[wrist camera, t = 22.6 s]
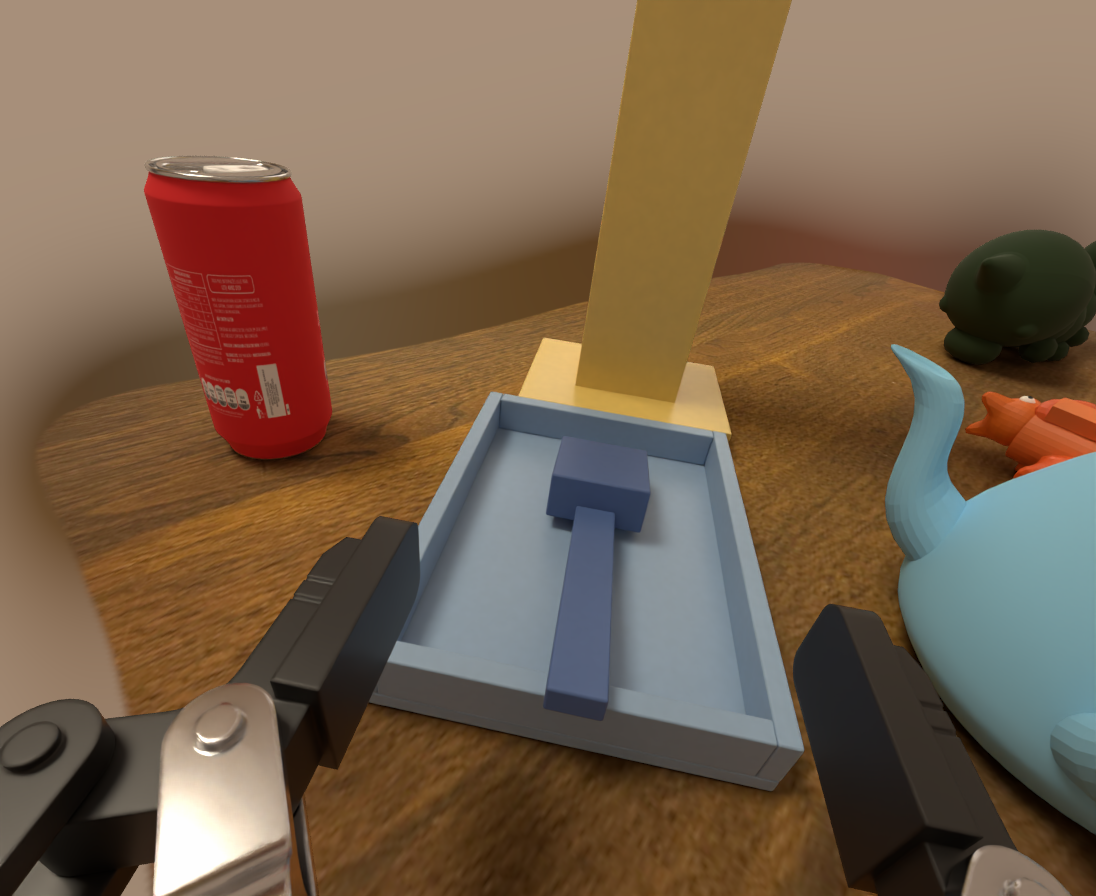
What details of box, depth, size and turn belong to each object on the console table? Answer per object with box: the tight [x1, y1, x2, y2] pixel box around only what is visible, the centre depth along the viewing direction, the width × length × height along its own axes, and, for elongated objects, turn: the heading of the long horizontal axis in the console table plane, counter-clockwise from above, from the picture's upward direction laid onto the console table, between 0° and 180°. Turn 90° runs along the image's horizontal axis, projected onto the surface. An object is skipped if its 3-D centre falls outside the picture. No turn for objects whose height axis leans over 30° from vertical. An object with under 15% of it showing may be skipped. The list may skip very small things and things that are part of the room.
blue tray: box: [369, 392, 804, 791], centre depth 21 cm, size 12×16×2 cm
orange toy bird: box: [965, 392, 1096, 479], centre depth 28 cm, size 5×8×12 cm
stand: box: [518, 0, 792, 443], centre depth 24 cm, size 14×10×32 cm
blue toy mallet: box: [543, 436, 651, 721], centre depth 19 cm, size 4×13×2 cm, turn 171°
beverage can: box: [144, 156, 332, 460], centre depth 23 cm, size 5×5×12 cm
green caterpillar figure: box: [939, 230, 1096, 365], centre depth 45 cm, size 9×19×25 cm
